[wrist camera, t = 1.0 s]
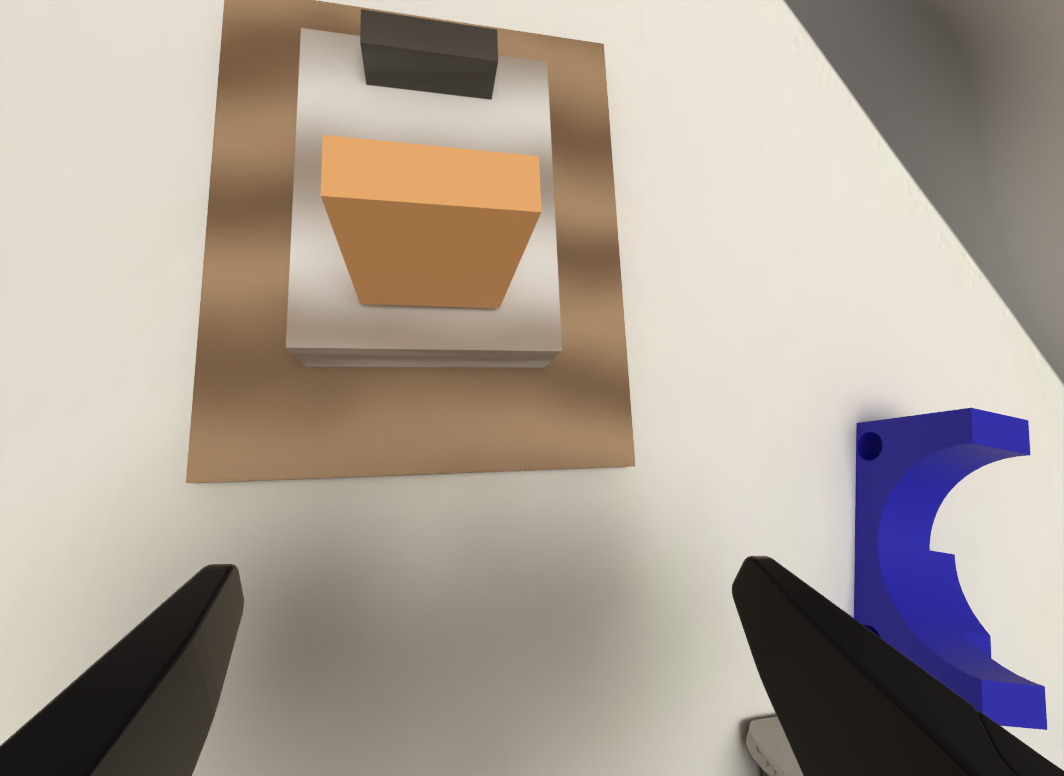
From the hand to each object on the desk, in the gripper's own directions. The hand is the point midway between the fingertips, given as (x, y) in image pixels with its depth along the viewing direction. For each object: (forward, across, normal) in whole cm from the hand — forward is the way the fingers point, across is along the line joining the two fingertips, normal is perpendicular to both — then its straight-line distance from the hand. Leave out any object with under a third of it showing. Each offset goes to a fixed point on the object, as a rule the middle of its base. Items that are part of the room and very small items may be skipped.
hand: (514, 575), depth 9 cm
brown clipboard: (+18, +2, -1) cm, 19 cm away
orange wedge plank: (+10, +2, -4) cm, 11 cm away
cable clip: (+10, -22, +10) cm, 26 cm away
